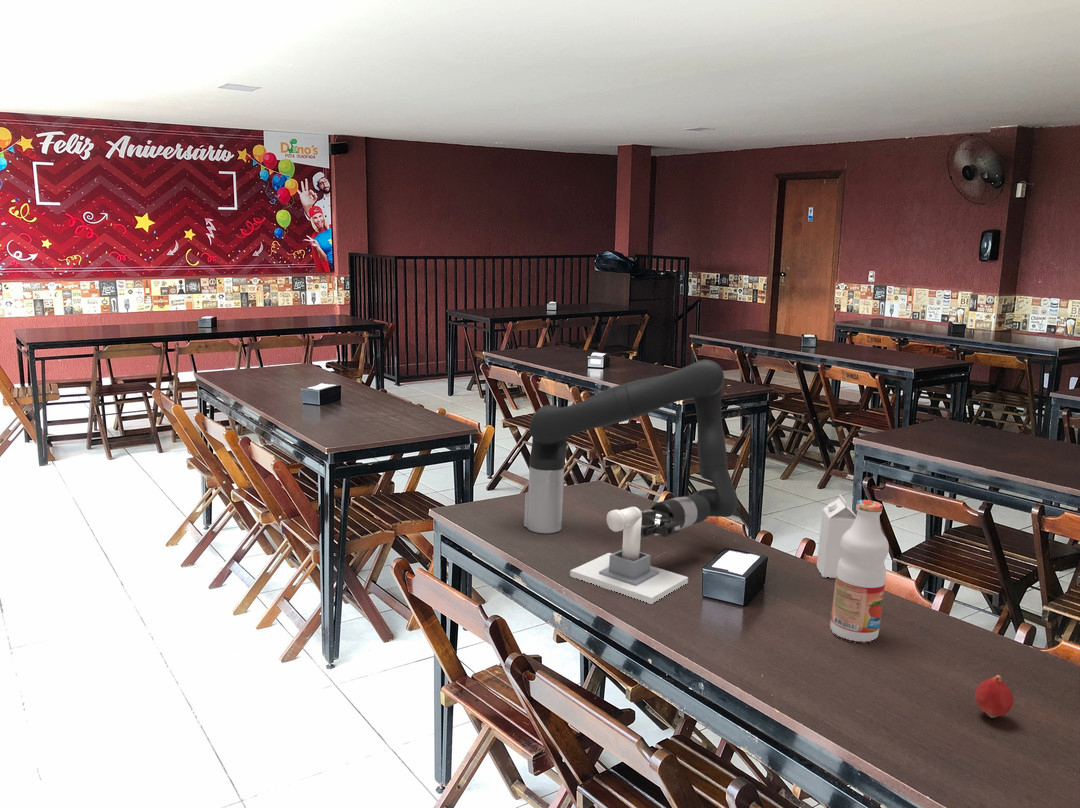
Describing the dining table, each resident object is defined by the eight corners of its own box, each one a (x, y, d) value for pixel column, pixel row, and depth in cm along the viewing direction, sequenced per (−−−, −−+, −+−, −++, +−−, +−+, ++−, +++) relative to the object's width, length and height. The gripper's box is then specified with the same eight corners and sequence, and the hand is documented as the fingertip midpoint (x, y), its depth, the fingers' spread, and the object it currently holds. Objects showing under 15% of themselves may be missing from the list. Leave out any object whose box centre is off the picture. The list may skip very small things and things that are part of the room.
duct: (569, 576, 202) (571, 551, 201) (608, 558, 214) (610, 534, 213) (651, 604, 189) (653, 577, 188) (687, 583, 201) (689, 558, 200)
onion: (965, 708, 152) (971, 666, 150) (996, 708, 152) (1003, 666, 151) (984, 727, 146) (991, 683, 144) (1017, 727, 146) (1024, 683, 145)
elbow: (628, 565, 204) (632, 500, 201) (643, 572, 201) (647, 506, 197) (603, 573, 199) (607, 507, 196) (618, 580, 196) (622, 513, 192)
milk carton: (845, 569, 214) (854, 495, 211) (852, 580, 207) (862, 504, 204) (816, 566, 215) (824, 493, 211) (822, 577, 208) (831, 501, 204)
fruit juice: (828, 620, 185) (843, 493, 179) (875, 627, 182) (892, 499, 177) (830, 639, 176) (846, 507, 170) (880, 647, 173) (897, 513, 168)
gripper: (652, 492, 213) (606, 503, 203) (699, 507, 203) (652, 520, 192) (650, 521, 215) (604, 534, 204) (696, 537, 204) (650, 552, 194)
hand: (628, 527), depth 198 cm, fingers open, 8 cm apart
